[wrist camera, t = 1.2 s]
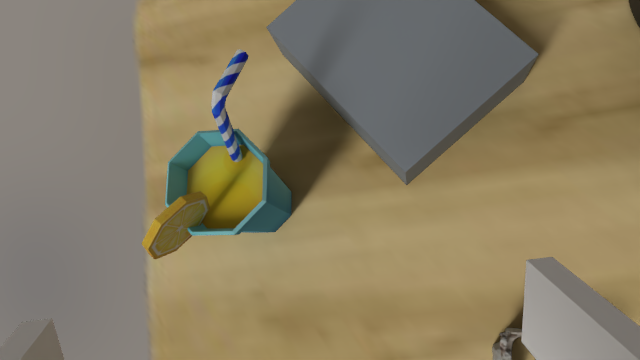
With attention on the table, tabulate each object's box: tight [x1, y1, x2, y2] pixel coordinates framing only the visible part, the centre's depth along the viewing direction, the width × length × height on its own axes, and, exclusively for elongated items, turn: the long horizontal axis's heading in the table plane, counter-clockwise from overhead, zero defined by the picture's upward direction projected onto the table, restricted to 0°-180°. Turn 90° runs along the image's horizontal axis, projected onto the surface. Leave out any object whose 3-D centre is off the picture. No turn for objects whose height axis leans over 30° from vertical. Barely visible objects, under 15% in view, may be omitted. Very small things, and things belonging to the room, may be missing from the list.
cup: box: [142, 50, 292, 259], centre depth 34 cm, size 14×8×15 cm, turn 157°
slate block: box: [267, 0, 539, 185], centre depth 39 cm, size 13×17×5 cm
